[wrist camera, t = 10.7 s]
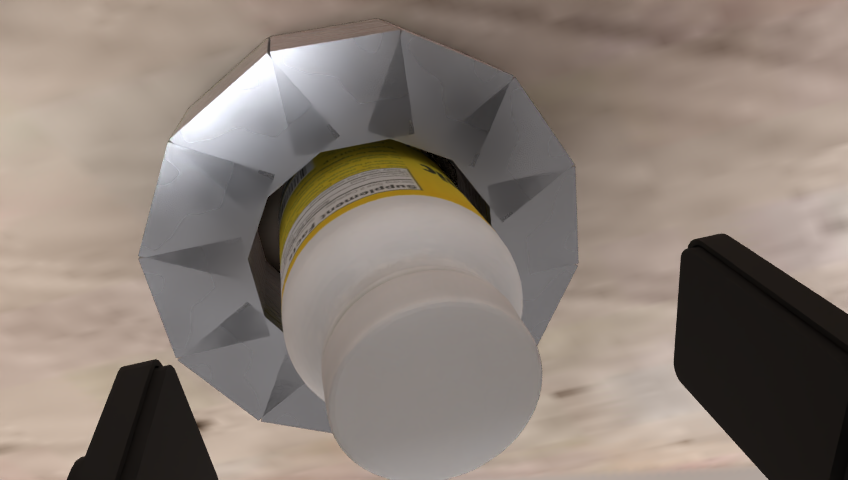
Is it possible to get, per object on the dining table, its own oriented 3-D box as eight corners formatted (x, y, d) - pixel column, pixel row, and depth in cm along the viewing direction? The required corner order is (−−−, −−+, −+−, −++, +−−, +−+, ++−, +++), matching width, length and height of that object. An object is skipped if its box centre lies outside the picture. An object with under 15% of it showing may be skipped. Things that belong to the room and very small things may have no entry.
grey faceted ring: (110, 62, 16) (61, 92, 13) (518, -5, 18) (584, 2, 14) (228, 400, 21) (218, 495, 18) (540, 323, 23) (593, 394, 19)
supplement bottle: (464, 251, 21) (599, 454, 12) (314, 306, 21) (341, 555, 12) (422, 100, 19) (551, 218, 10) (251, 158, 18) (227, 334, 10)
